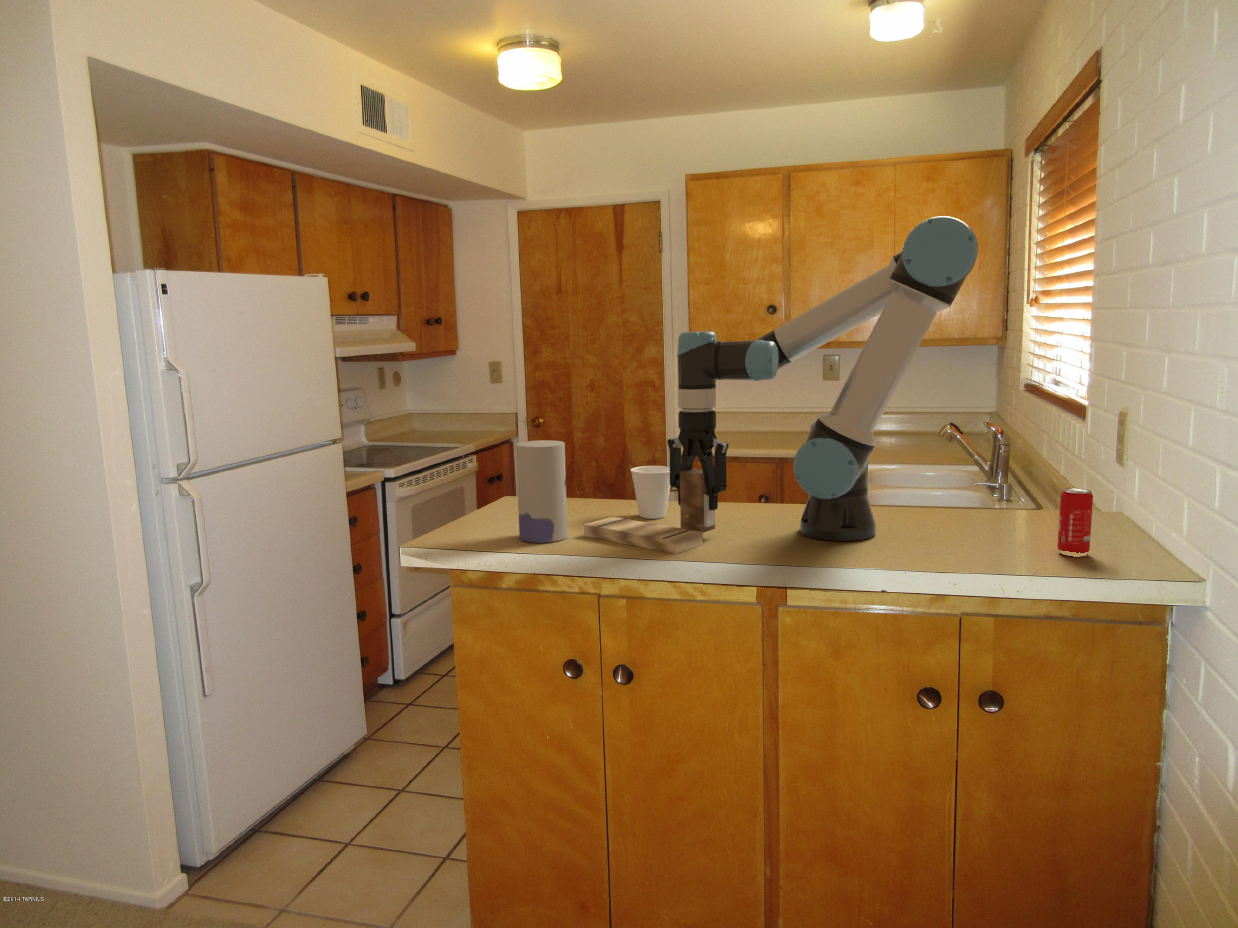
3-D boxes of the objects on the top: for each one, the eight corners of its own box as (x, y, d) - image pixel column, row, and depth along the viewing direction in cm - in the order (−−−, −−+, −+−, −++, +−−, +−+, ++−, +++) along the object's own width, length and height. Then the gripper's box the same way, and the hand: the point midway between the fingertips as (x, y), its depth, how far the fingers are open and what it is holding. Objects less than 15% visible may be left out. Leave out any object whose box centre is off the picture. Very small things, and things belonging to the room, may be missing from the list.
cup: (675, 520, 191) (674, 472, 189) (631, 521, 191) (630, 473, 189) (673, 511, 200) (672, 465, 199) (631, 512, 201) (630, 466, 199)
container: (577, 535, 179) (574, 441, 176) (547, 545, 171) (543, 447, 168) (540, 529, 185) (536, 438, 182) (509, 539, 177) (505, 444, 174)
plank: (702, 544, 170) (702, 531, 169) (675, 553, 163) (675, 540, 163) (612, 527, 185) (612, 516, 185) (584, 535, 179) (583, 523, 178)
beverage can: (1072, 559, 154) (1076, 493, 152) (1050, 552, 158) (1054, 488, 157) (1095, 556, 155) (1100, 491, 153) (1073, 549, 160) (1077, 486, 158)
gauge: (715, 528, 174) (714, 470, 172) (696, 535, 169) (695, 475, 167) (695, 525, 177) (694, 468, 175) (676, 531, 172) (675, 473, 171)
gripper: (745, 410, 167) (745, 526, 171) (672, 406, 179) (673, 514, 182) (724, 413, 161) (724, 533, 165) (650, 409, 173) (651, 521, 177)
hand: (697, 523), depth 174 cm, fingers closed on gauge, 5 cm apart
